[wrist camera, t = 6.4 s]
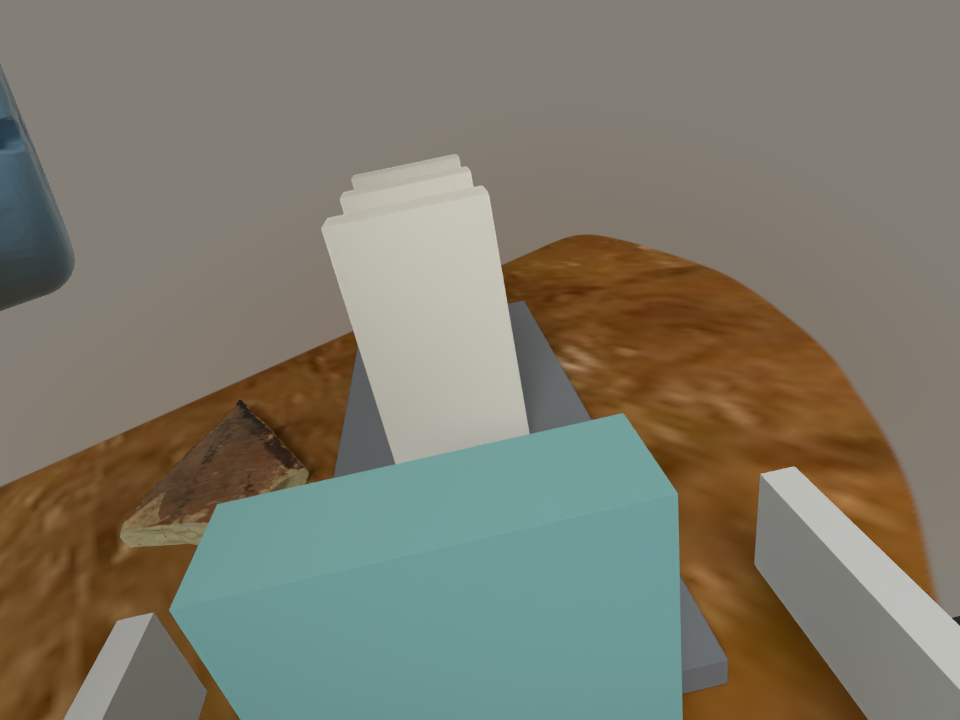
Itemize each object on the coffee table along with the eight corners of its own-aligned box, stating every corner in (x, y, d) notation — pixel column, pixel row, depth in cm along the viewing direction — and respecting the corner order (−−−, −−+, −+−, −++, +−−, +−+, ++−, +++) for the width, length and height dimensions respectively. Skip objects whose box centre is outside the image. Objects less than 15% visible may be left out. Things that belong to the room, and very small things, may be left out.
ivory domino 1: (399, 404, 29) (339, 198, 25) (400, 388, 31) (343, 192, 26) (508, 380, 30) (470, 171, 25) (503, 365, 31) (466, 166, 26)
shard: (248, 419, 34) (237, 395, 34) (361, 412, 33) (352, 386, 32) (123, 556, 25) (104, 527, 24) (272, 555, 23) (256, 524, 22)
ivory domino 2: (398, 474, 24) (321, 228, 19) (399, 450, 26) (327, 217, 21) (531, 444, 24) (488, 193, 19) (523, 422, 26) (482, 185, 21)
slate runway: (292, 787, 15) (280, 766, 14) (363, 348, 40) (359, 336, 39) (727, 683, 15) (728, 660, 14) (525, 313, 40) (523, 300, 39)
